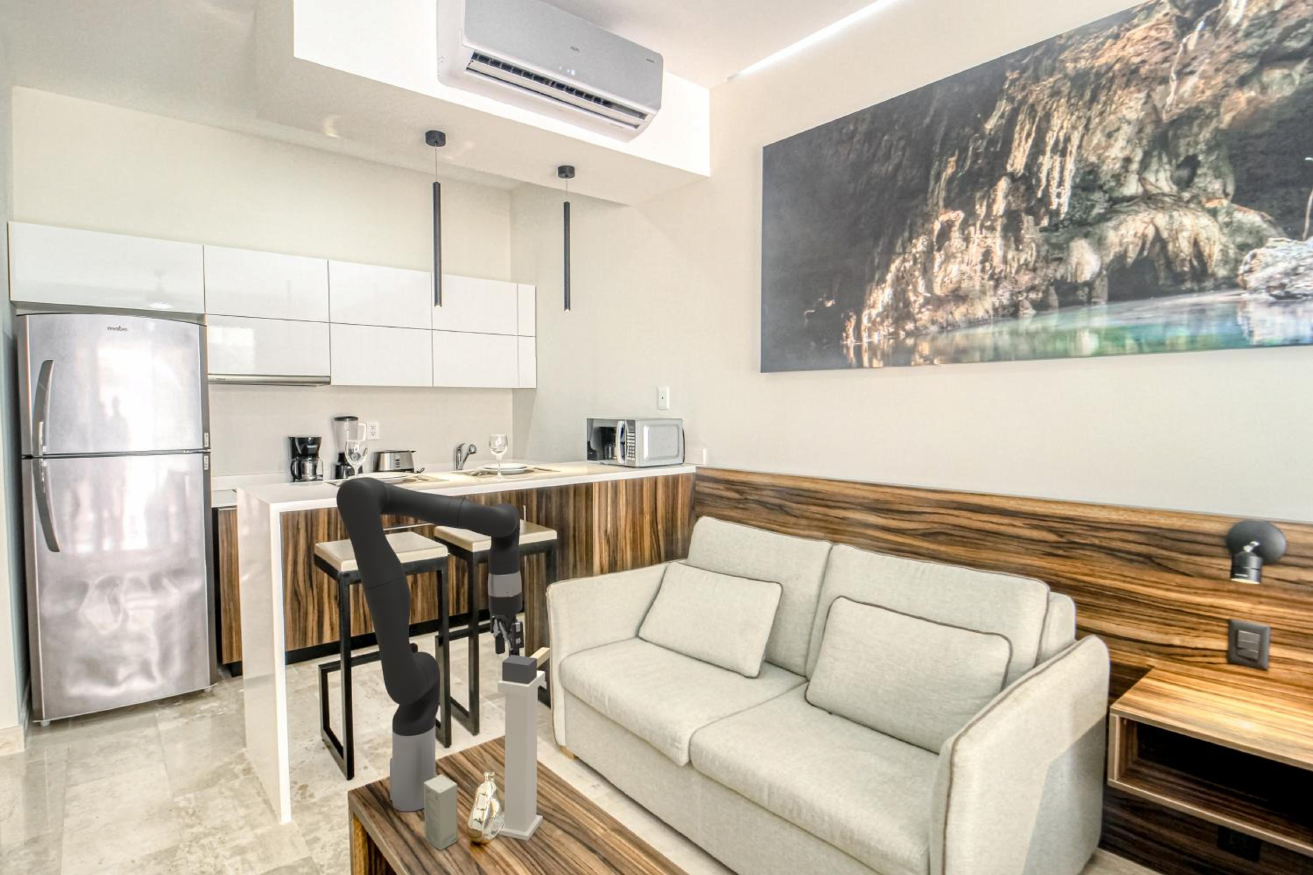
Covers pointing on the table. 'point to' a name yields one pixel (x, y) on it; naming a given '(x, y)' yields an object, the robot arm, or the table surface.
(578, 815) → the table surface
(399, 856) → the table surface
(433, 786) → the skincare box
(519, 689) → the pale stand
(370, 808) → the table surface
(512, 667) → the rubber mallet
